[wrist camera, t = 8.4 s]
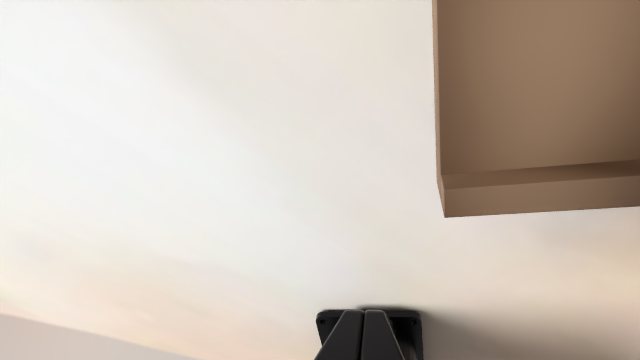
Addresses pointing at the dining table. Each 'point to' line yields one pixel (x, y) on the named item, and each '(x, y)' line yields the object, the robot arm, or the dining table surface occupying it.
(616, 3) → the beam
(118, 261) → the dining table surface
